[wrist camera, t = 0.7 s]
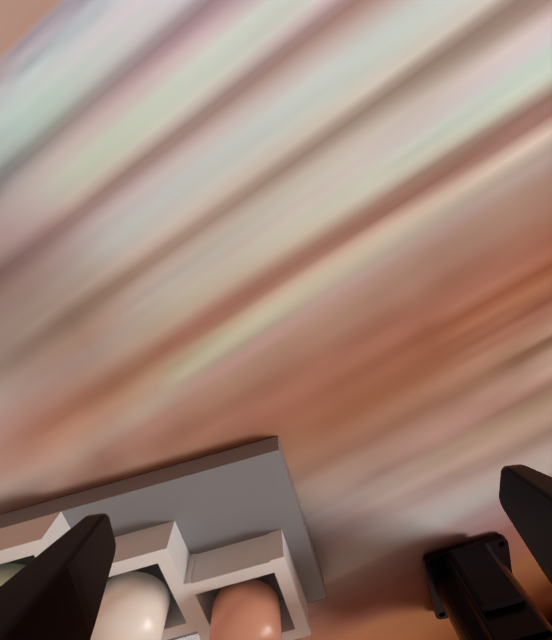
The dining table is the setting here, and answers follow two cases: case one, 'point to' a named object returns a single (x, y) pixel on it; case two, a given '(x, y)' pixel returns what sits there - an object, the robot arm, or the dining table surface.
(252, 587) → the terracotta button
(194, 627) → the button panel
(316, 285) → the dining table surface
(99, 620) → the white button
